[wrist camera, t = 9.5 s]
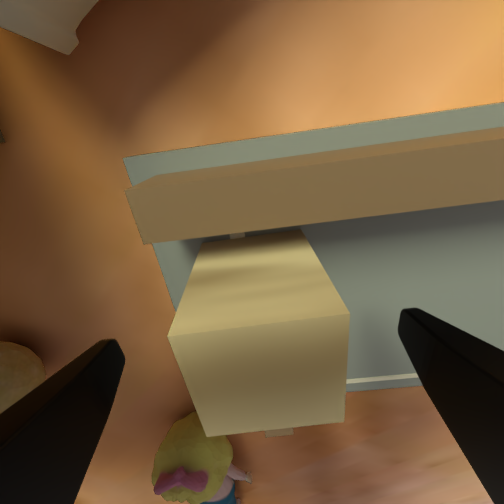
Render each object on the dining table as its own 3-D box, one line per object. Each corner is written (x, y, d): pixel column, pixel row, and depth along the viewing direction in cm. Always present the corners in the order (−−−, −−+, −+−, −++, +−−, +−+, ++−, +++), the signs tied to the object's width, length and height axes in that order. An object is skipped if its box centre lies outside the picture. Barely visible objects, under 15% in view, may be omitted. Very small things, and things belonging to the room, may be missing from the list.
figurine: (258, 484, 23) (237, 395, 16) (260, 557, 20) (233, 485, 12) (197, 487, 24) (148, 401, 16) (187, 560, 20) (117, 492, 12)
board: (581, 358, 14) (667, 418, 11) (209, 391, 15) (199, 453, 12) (781, 61, 8) (1090, 22, 5) (132, 155, 9) (76, 168, 6)
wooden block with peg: (309, 389, 14) (339, 509, 10) (240, 397, 14) (239, 519, 10) (301, 229, 10) (350, 313, 5) (202, 243, 10) (167, 336, 5)
